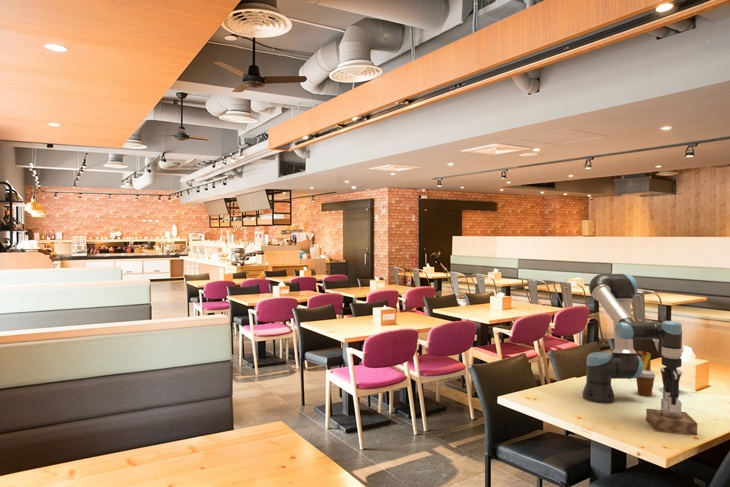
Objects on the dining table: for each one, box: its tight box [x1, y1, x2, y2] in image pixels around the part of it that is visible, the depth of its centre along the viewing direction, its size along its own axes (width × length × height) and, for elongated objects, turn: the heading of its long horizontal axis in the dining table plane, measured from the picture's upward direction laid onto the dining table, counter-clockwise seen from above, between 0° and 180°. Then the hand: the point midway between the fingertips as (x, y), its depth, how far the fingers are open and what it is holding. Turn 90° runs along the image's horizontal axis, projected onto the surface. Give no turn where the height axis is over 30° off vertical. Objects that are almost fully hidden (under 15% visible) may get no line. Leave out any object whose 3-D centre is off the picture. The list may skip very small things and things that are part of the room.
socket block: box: [645, 408, 698, 436], centre depth 220 cm, size 16×14×5 cm
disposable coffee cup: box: [635, 370, 656, 397], centre depth 266 cm, size 10×10×12 cm
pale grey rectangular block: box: [660, 398, 682, 418], centre depth 220 cm, size 7×3×12 cm, turn 74°
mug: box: [635, 350, 652, 371], centre depth 309 cm, size 10×14×12 cm
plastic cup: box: [659, 366, 684, 387], centre depth 271 cm, size 11×11×12 cm
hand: (670, 409), depth 220 cm, fingers open, 5 cm apart
